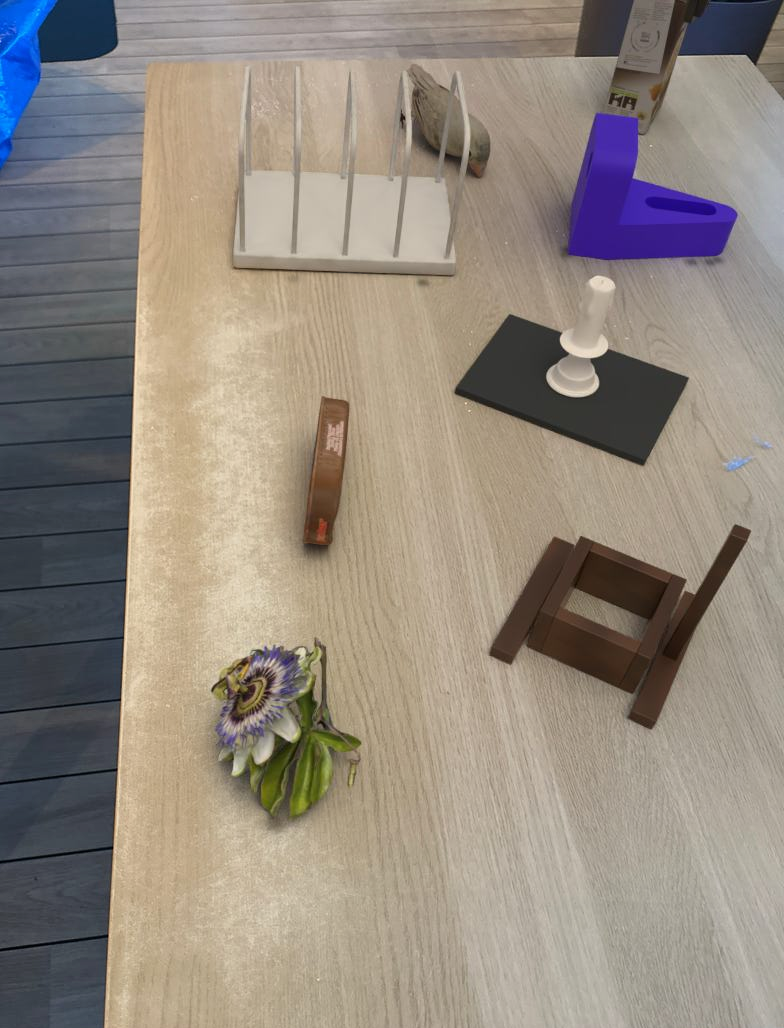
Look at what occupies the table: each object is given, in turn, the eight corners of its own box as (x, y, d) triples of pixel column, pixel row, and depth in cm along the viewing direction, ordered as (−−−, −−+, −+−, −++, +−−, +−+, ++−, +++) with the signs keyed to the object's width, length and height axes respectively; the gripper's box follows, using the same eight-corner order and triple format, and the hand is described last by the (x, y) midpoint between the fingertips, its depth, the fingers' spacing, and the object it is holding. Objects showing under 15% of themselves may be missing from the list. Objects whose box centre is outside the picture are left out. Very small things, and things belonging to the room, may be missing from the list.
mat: (686, 383, 102) (689, 377, 102) (643, 466, 95) (646, 460, 95) (508, 319, 108) (509, 313, 107) (454, 393, 101) (455, 387, 100)
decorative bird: (464, 185, 123) (474, 124, 117) (388, 127, 131) (394, 68, 125) (498, 173, 125) (509, 113, 119) (421, 117, 133) (428, 57, 126)
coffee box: (645, 136, 131) (687, 2, 118) (599, 124, 133) (634, -10, 119) (663, 105, 136) (704, -26, 123) (617, 94, 137) (653, -37, 124)
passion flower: (240, 767, 81) (217, 630, 77) (372, 758, 80) (356, 617, 76) (215, 840, 71) (186, 685, 67) (366, 831, 69) (347, 672, 65)
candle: (587, 405, 99) (622, 302, 89) (538, 386, 100) (566, 283, 90) (605, 374, 102) (641, 271, 92) (557, 357, 103) (586, 253, 93)
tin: (314, 444, 96) (317, 374, 89) (347, 447, 96) (352, 377, 89) (299, 563, 87) (302, 496, 80) (335, 566, 87) (341, 500, 80)
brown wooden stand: (702, 608, 85) (780, 475, 72) (651, 729, 78) (727, 606, 65) (551, 544, 89) (598, 407, 76) (488, 654, 82) (529, 524, 69)
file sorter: (232, 270, 112) (227, 132, 99) (240, 185, 122) (236, 50, 109) (454, 276, 112) (477, 140, 99) (443, 191, 122) (463, 58, 109)
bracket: (567, 254, 115) (594, 155, 106) (571, 203, 121) (597, 105, 112) (725, 276, 113) (767, 177, 104) (721, 223, 120) (760, 125, 110)
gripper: (598, -245, 72) (547, 3, 85) (796, -208, 68) (710, 46, 81) (632, -268, 75) (578, -28, 89) (821, -235, 72) (735, 11, 85)
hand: (641, 7), depth 85 cm, fingers open, 8 cm apart
